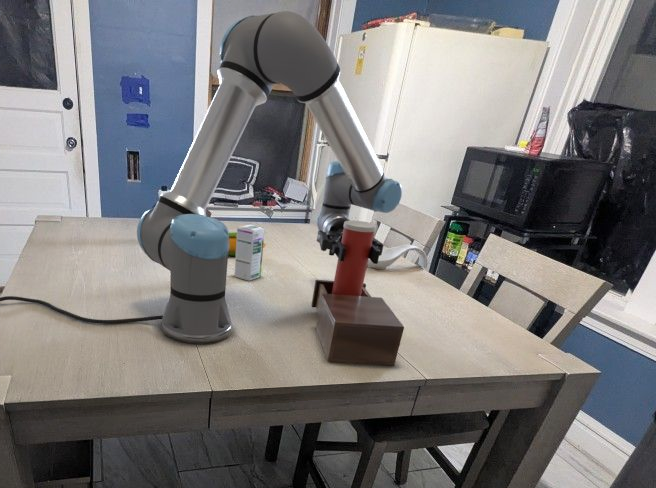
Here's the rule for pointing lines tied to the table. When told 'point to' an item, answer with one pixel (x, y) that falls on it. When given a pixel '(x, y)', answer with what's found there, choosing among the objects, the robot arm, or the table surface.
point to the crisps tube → (353, 258)
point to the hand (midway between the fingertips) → (360, 256)
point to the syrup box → (249, 252)
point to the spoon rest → (397, 256)
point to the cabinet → (358, 330)
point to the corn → (234, 244)
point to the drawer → (328, 291)
